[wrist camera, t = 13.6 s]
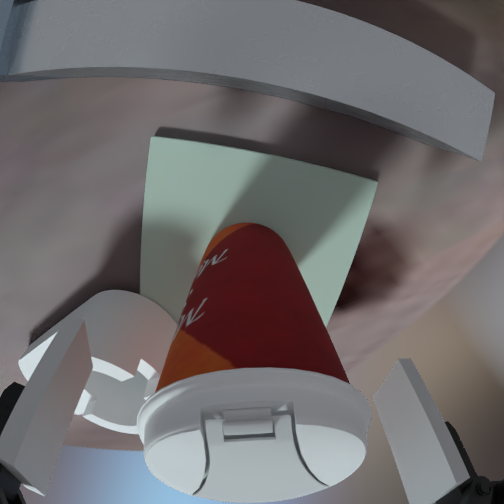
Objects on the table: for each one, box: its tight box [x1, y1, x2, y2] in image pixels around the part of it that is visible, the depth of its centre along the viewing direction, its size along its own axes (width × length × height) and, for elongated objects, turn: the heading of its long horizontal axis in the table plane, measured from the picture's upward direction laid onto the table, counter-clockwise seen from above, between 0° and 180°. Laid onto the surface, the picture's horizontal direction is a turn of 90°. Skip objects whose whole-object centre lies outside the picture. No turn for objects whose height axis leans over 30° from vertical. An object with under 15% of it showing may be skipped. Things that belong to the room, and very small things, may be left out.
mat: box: [140, 136, 378, 327], centre depth 20 cm, size 14×14×1 cm
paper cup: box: [137, 223, 372, 503], centre depth 14 cm, size 8×8×14 cm
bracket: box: [18, 290, 177, 434], centre depth 21 cm, size 20×9×7 cm, turn 123°
